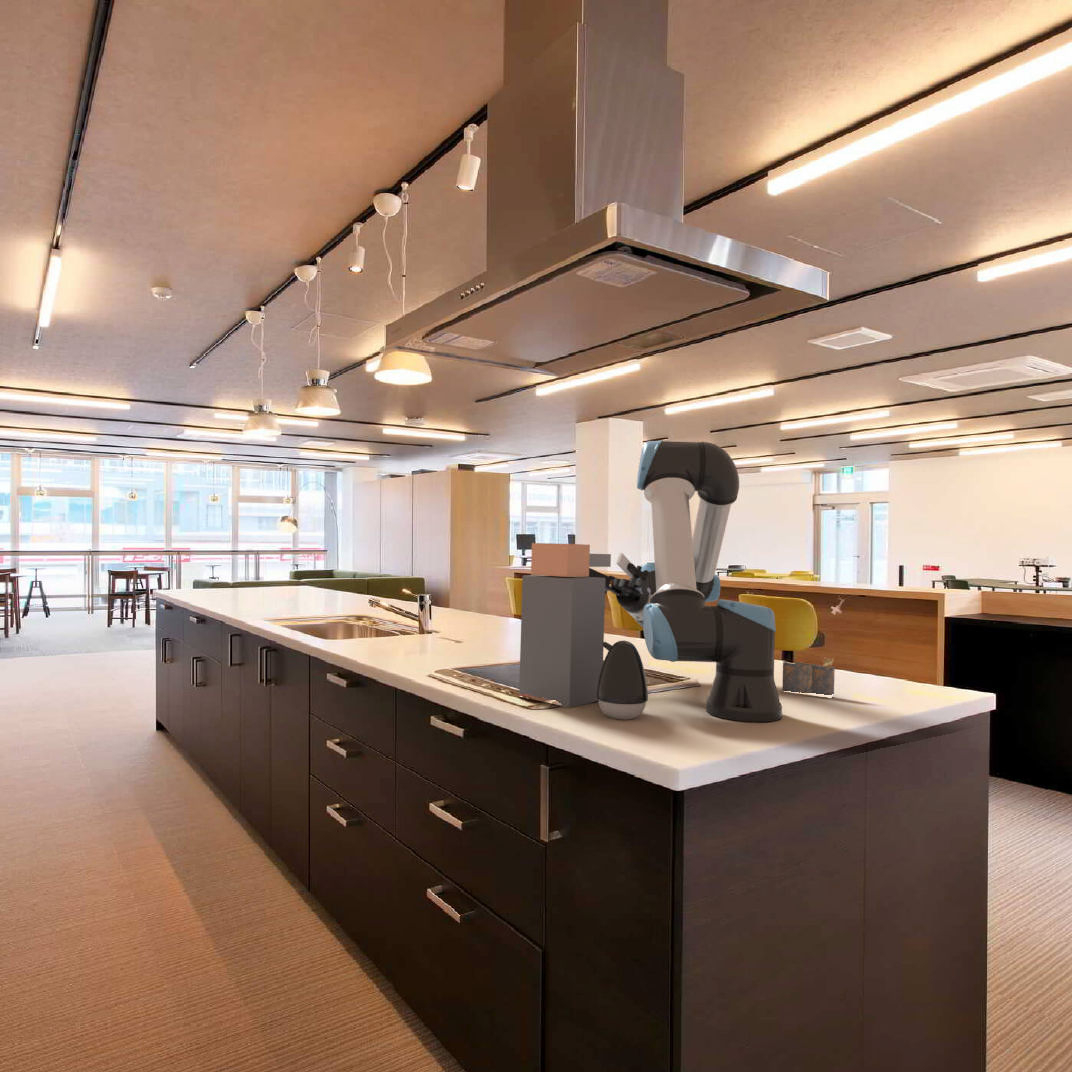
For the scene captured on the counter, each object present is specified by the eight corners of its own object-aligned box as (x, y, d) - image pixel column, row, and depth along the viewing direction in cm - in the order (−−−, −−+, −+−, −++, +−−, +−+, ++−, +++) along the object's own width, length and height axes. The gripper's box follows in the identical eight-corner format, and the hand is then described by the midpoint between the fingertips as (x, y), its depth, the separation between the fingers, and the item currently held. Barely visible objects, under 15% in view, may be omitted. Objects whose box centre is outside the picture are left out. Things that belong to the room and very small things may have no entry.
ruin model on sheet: (870, 698, 174) (871, 658, 175) (856, 710, 161) (857, 665, 161) (766, 685, 189) (767, 647, 189) (745, 694, 175) (746, 653, 175)
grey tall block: (552, 690, 170) (556, 575, 171) (602, 699, 161) (605, 578, 162) (518, 697, 161) (522, 575, 162) (569, 707, 152) (572, 578, 153)
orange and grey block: (588, 574, 177) (588, 545, 177) (622, 575, 171) (623, 546, 171) (530, 574, 161) (531, 543, 161) (566, 576, 154) (567, 543, 154)
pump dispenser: (617, 708, 153) (619, 636, 153) (657, 717, 146) (659, 641, 146) (584, 715, 146) (587, 639, 146) (625, 725, 138) (627, 645, 139)
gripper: (675, 617, 176) (635, 573, 162) (591, 609, 192) (548, 569, 178) (683, 590, 179) (645, 544, 165) (600, 584, 195) (559, 543, 181)
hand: (595, 557), depth 171 cm, fingers open, 13 cm apart
